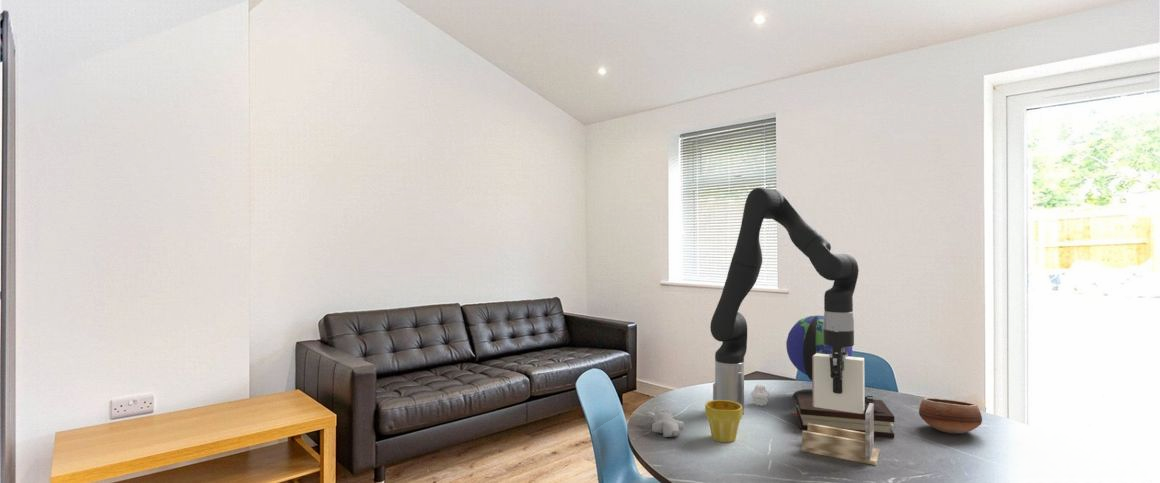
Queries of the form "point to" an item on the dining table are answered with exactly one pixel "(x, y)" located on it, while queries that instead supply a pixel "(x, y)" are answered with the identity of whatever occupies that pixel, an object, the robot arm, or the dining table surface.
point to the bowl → (950, 415)
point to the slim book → (851, 385)
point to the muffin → (760, 395)
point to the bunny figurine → (665, 423)
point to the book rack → (843, 441)
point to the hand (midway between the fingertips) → (838, 390)
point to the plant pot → (723, 419)
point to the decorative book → (844, 417)
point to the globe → (807, 346)
